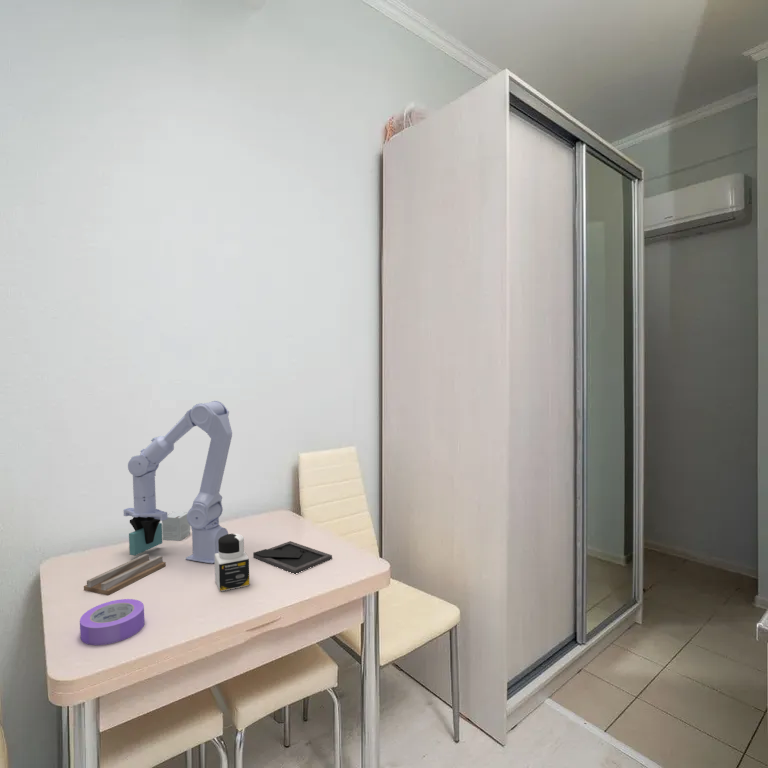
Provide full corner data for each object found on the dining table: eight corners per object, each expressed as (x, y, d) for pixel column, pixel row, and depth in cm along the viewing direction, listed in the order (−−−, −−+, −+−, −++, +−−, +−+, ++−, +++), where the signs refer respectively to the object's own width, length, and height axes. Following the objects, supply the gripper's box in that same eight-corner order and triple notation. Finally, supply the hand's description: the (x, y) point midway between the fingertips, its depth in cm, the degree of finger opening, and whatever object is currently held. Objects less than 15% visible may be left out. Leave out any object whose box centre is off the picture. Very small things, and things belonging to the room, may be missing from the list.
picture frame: (253, 559, 140) (295, 576, 129) (253, 552, 140) (295, 569, 129) (290, 546, 150) (332, 560, 139) (290, 539, 150) (331, 553, 139)
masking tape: (83, 653, 95) (82, 633, 95) (77, 627, 104) (77, 609, 104) (149, 633, 102) (149, 614, 101) (139, 610, 111) (138, 593, 111)
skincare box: (173, 533, 161) (172, 511, 161) (190, 534, 160) (190, 511, 160) (162, 540, 155) (161, 516, 155) (180, 541, 154) (179, 517, 154)
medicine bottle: (219, 592, 119) (218, 543, 119) (214, 581, 125) (213, 534, 125) (249, 586, 122) (248, 538, 122) (243, 575, 129) (242, 529, 128)
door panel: (162, 543, 148) (161, 523, 148) (135, 555, 139) (134, 534, 138) (157, 542, 149) (156, 522, 149) (129, 554, 139) (128, 533, 139)
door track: (165, 565, 135) (165, 556, 135) (108, 595, 118) (108, 584, 118) (143, 562, 138) (142, 553, 138) (83, 590, 121) (83, 580, 121)
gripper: (113, 497, 142) (115, 544, 142) (153, 501, 137) (154, 550, 137) (134, 491, 149) (135, 536, 149) (172, 495, 143) (173, 541, 144)
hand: (146, 542), depth 144 cm, fingers closed on door panel, 2 cm apart
